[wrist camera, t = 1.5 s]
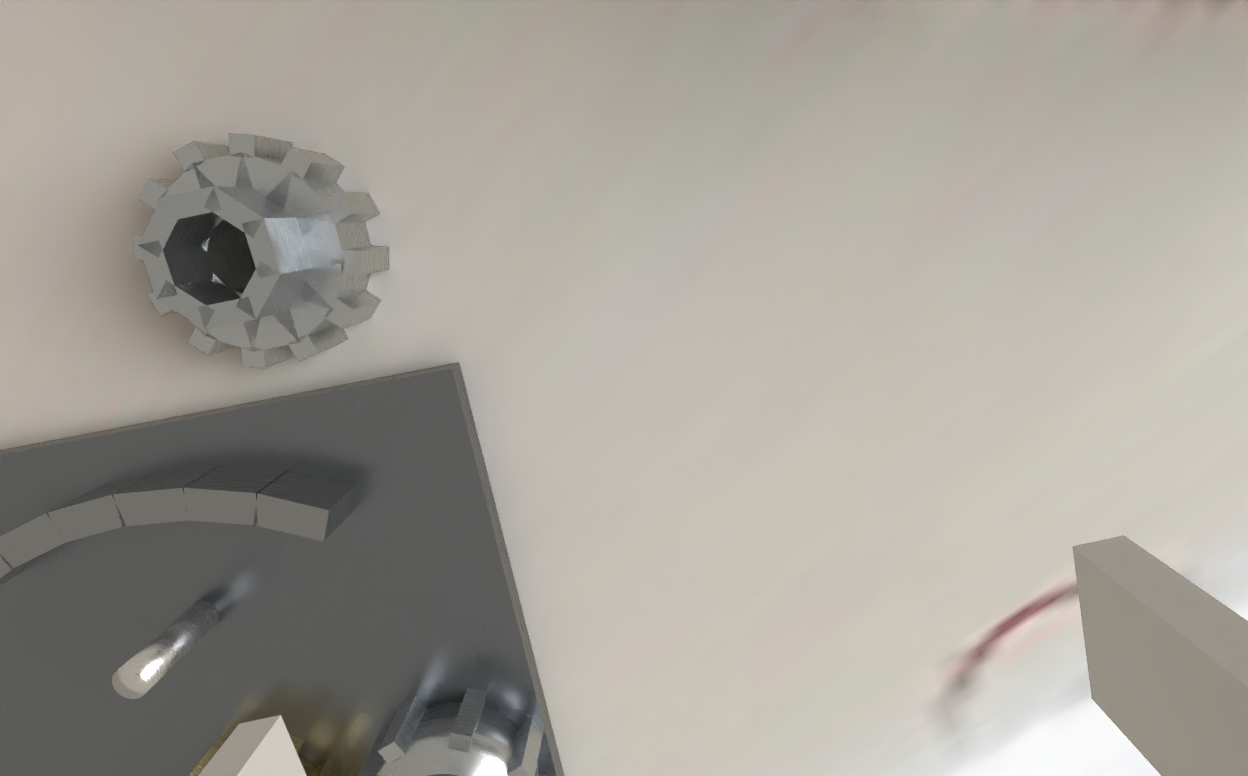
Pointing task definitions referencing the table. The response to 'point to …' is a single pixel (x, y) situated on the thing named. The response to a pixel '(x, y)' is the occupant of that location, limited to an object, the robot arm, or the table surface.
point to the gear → (259, 249)
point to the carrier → (267, 592)
